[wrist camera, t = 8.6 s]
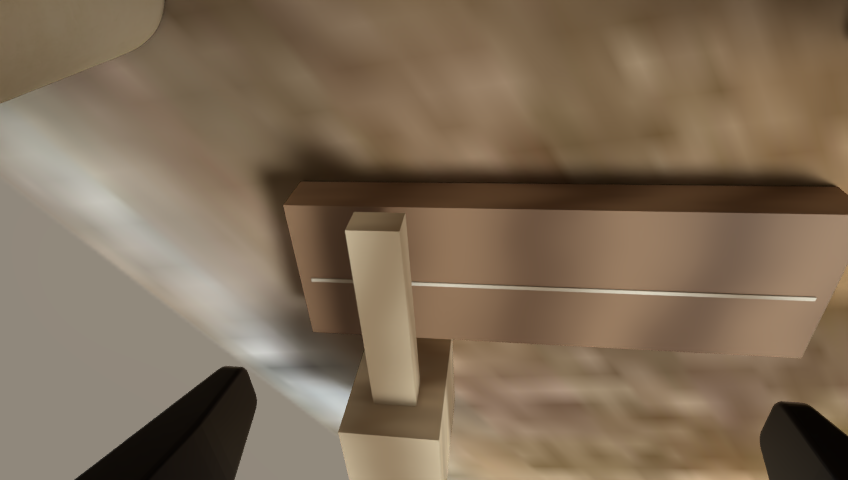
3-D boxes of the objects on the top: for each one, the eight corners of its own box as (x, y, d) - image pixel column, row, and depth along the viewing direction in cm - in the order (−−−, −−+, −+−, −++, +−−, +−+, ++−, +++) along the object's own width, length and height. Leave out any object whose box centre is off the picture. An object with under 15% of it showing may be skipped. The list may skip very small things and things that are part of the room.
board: (838, 186, 18) (872, 216, 16) (778, 323, 22) (802, 359, 20) (300, 181, 21) (282, 206, 19) (326, 303, 24) (312, 332, 23)
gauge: (446, 170, 20) (427, 259, 15) (454, 403, 27) (443, 514, 22) (347, 170, 20) (297, 255, 15) (382, 398, 28) (355, 505, 23)
